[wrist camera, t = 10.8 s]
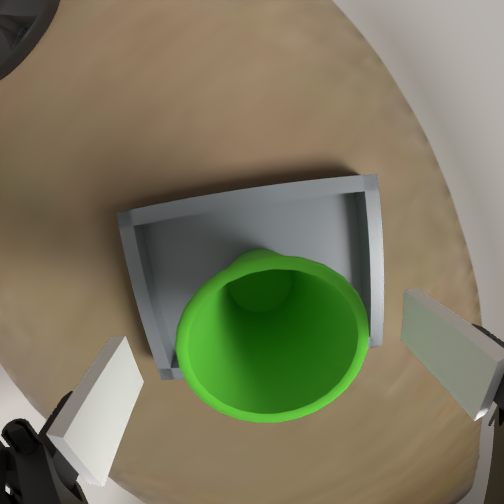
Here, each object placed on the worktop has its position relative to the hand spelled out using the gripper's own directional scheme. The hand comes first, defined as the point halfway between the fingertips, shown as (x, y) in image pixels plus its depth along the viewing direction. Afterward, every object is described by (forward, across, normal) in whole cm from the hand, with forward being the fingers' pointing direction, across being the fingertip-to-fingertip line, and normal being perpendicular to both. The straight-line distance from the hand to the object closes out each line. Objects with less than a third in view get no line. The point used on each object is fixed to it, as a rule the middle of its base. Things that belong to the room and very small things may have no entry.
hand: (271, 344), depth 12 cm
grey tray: (+12, 0, -1) cm, 12 cm away
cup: (+11, 0, -1) cm, 11 cm away
